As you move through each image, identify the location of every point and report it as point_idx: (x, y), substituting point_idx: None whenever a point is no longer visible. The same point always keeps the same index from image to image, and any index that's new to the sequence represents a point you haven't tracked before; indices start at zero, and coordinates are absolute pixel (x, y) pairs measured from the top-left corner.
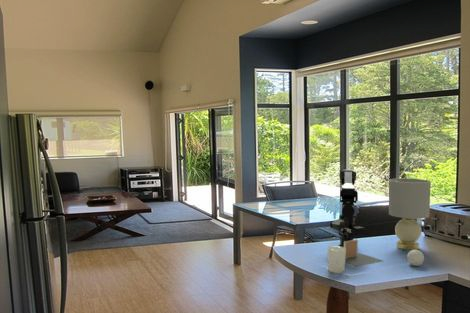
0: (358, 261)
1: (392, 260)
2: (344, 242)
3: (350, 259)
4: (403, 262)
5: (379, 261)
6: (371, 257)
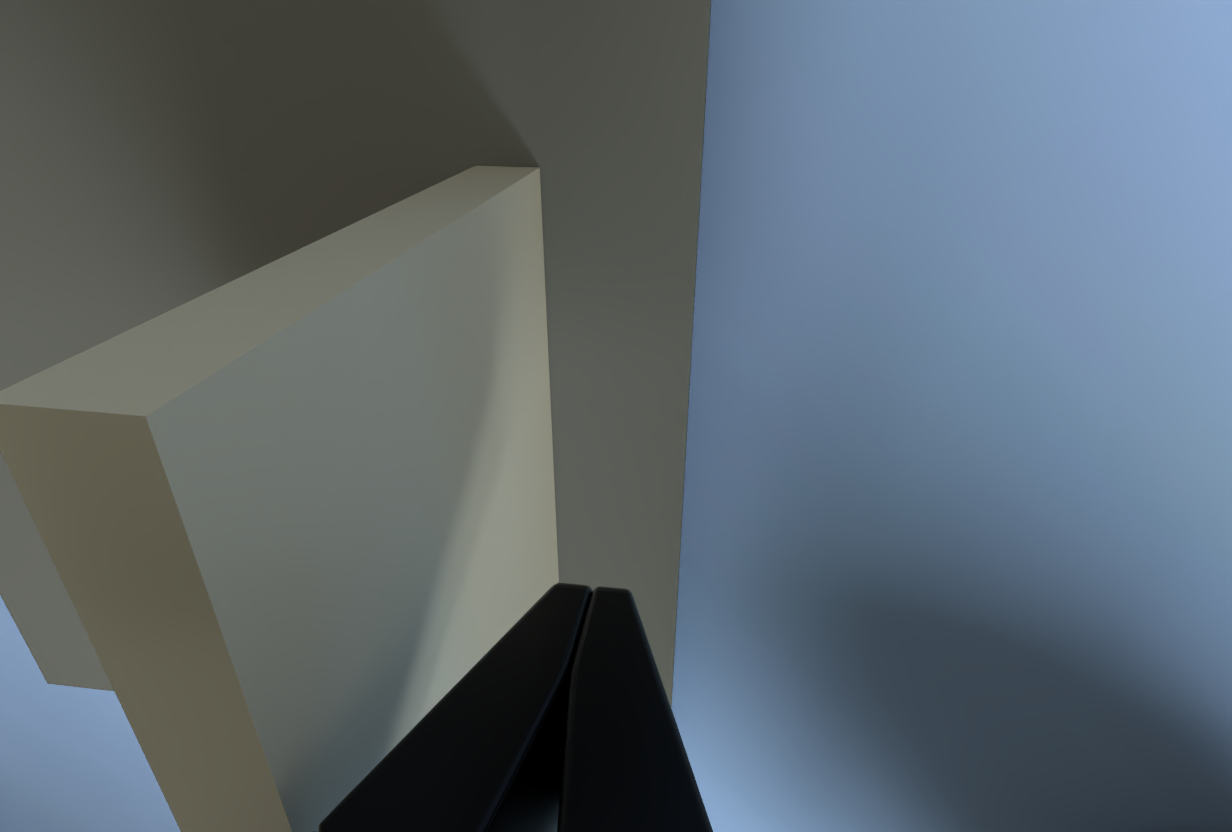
0: (73, 254)
1: (139, 798)
2: (154, 371)
3: (299, 214)
4: (19, 815)
5: (20, 602)
6: None
